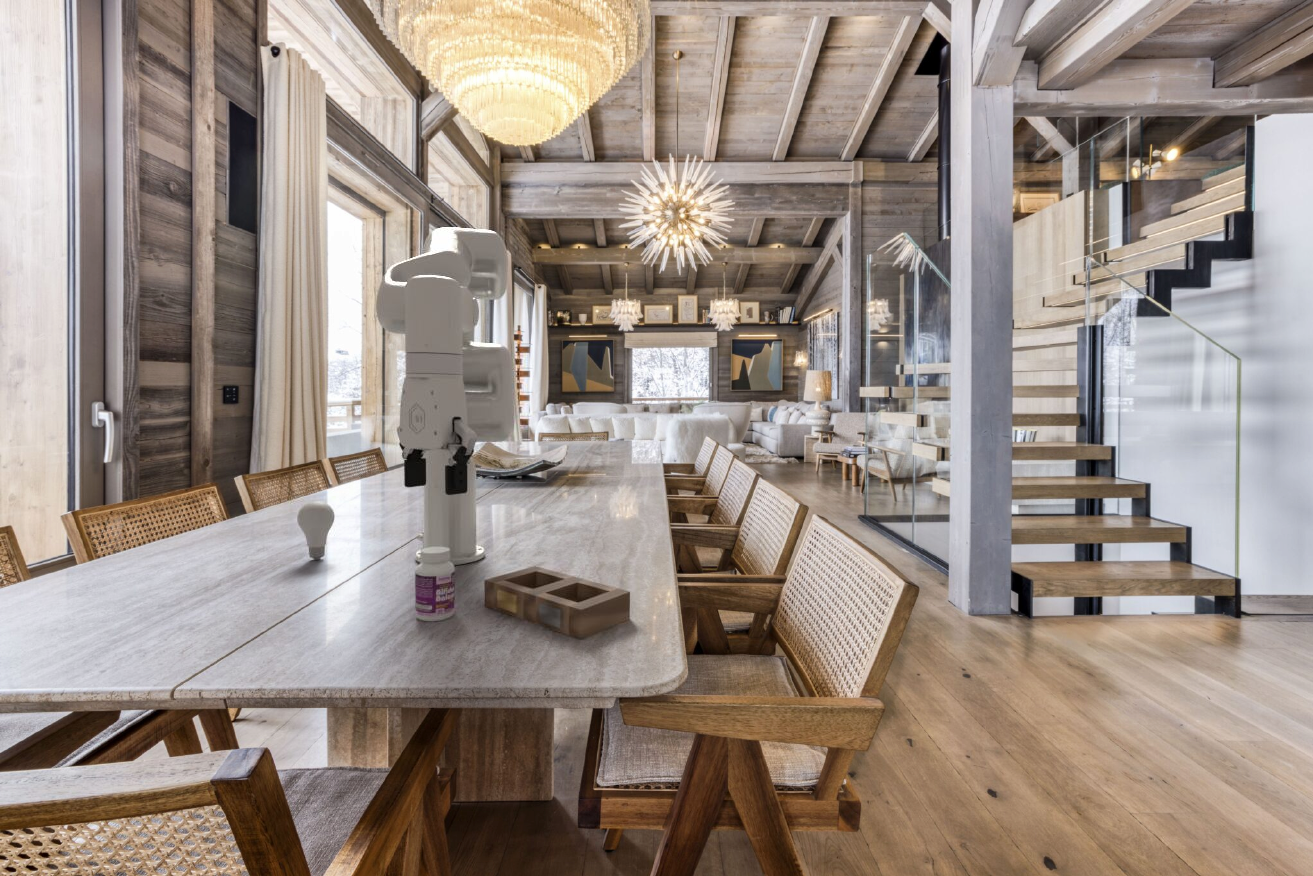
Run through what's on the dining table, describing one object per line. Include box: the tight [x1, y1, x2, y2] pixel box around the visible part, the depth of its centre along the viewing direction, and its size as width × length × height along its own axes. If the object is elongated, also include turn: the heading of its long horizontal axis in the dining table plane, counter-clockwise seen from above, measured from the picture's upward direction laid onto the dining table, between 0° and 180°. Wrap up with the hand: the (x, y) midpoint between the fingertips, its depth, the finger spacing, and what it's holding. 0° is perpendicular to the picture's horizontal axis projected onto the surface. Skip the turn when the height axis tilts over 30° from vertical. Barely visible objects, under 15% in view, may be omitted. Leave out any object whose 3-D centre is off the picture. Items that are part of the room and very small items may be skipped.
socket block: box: [483, 565, 631, 640], centre depth 95 cm, size 20×10×4 cm, turn 53°
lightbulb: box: [297, 500, 335, 561], centre depth 120 cm, size 6×6×11 cm
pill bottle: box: [414, 547, 456, 622], centre depth 92 cm, size 5×5×10 cm
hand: (435, 489), depth 91 cm, fingers open, 9 cm apart
